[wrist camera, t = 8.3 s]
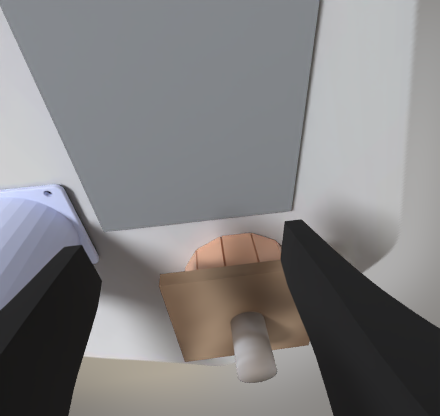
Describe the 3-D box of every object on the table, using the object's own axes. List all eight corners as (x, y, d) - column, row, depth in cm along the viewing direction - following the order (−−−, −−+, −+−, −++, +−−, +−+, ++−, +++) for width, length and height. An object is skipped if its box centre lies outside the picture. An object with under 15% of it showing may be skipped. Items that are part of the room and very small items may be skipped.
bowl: (193, 305, 29) (194, 346, 26) (179, 241, 23) (177, 284, 19) (282, 293, 30) (295, 333, 26) (291, 227, 23) (310, 267, 20)
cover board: (185, 351, 26) (185, 413, 22) (160, 274, 19) (153, 347, 15) (304, 334, 26) (325, 392, 22) (326, 253, 19) (363, 319, 15)
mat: (105, 227, 21) (103, 232, 21) (-4, -19, 12) (-12, -19, 11) (289, 206, 22) (291, 210, 21) (320, -42, 13) (325, -44, 12)
